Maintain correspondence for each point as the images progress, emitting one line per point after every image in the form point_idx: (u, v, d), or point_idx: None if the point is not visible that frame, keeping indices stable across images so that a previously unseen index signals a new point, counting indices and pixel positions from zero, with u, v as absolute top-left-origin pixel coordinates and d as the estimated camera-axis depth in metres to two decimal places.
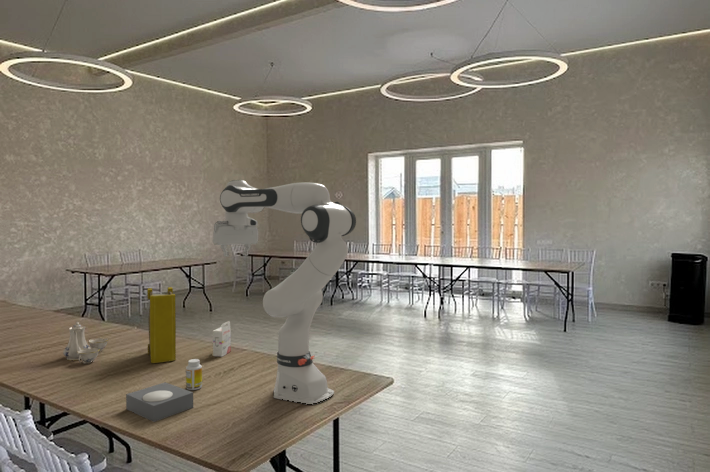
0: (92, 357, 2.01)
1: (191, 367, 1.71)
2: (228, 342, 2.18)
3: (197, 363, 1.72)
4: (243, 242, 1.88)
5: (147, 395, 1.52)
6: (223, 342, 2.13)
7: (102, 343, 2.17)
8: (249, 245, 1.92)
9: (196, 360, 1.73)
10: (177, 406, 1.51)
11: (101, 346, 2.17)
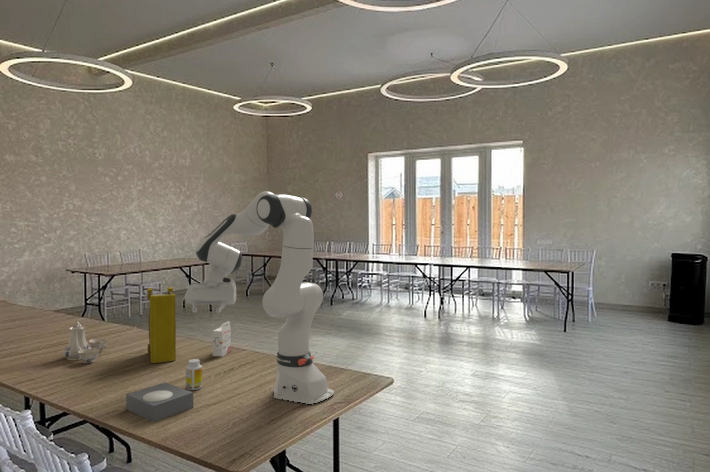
0: (93, 357, 2.01)
1: (191, 367, 1.71)
2: (228, 342, 2.18)
3: (197, 363, 1.72)
4: (213, 298, 1.87)
5: (147, 395, 1.52)
6: (223, 342, 2.13)
7: (102, 343, 2.17)
8: (222, 302, 1.87)
9: (196, 360, 1.73)
10: (177, 406, 1.51)
11: (101, 346, 2.17)
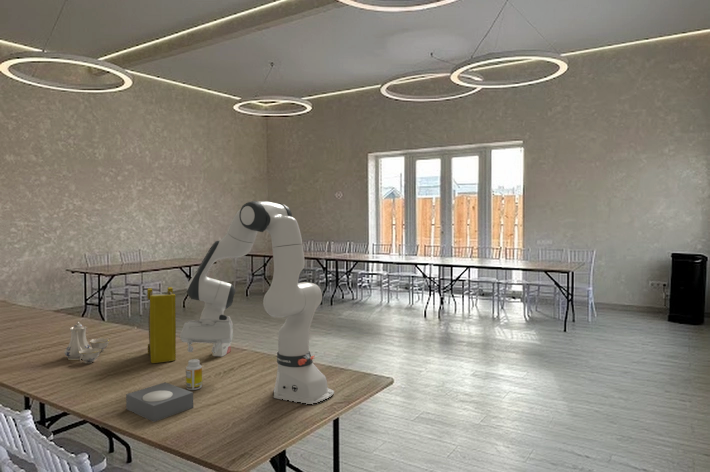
0: (93, 357, 2.01)
1: (191, 367, 1.71)
2: None
3: (197, 363, 1.72)
4: (209, 336, 1.83)
5: (147, 395, 1.52)
6: None
7: (103, 343, 2.17)
8: (218, 341, 1.82)
9: (196, 360, 1.73)
10: (177, 406, 1.51)
11: (102, 346, 2.17)
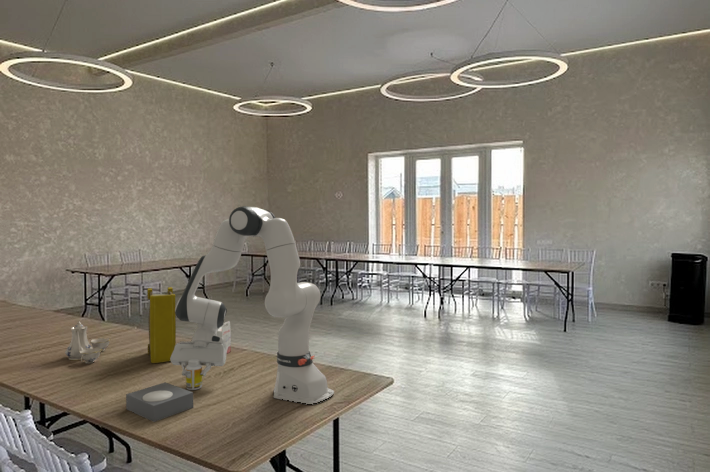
0: (94, 357, 2.01)
1: (191, 367, 1.71)
2: (228, 342, 2.18)
3: (197, 363, 1.72)
4: (201, 359, 1.75)
5: (147, 395, 1.52)
6: None
7: (104, 343, 2.17)
8: (208, 363, 1.74)
9: (196, 360, 1.73)
10: (177, 406, 1.51)
11: (103, 346, 2.17)
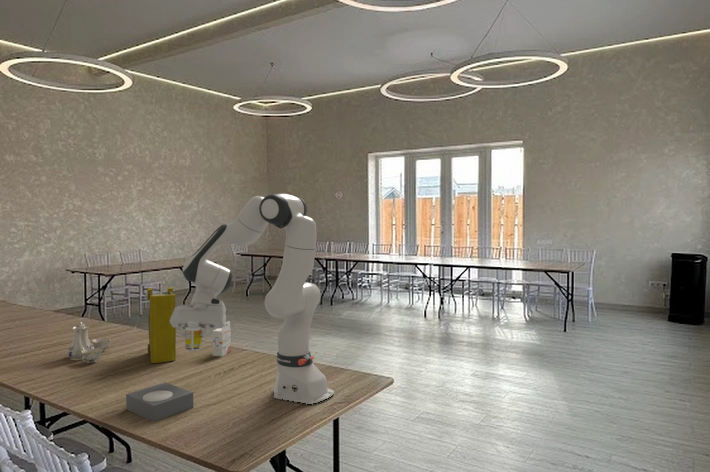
0: (96, 357, 2.01)
1: (190, 328, 1.70)
2: (228, 342, 2.18)
3: (197, 324, 1.71)
4: (201, 321, 1.74)
5: (147, 395, 1.52)
6: (223, 342, 2.13)
7: (105, 343, 2.17)
8: (207, 325, 1.74)
9: (196, 321, 1.72)
10: (177, 406, 1.51)
11: (104, 346, 2.17)
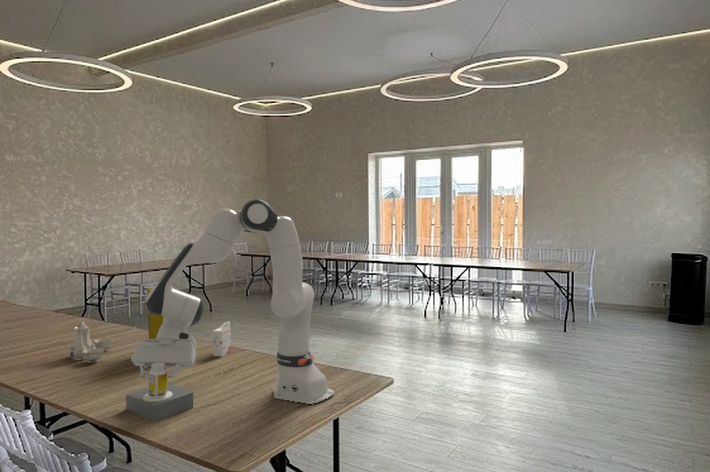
0: (97, 357, 2.01)
1: (154, 372, 1.49)
2: (228, 342, 2.18)
3: (162, 367, 1.50)
4: (166, 359, 1.53)
5: (147, 395, 1.52)
6: (223, 342, 2.13)
7: (107, 343, 2.17)
8: (177, 364, 1.53)
9: (161, 364, 1.52)
10: (177, 406, 1.51)
11: (106, 346, 2.18)
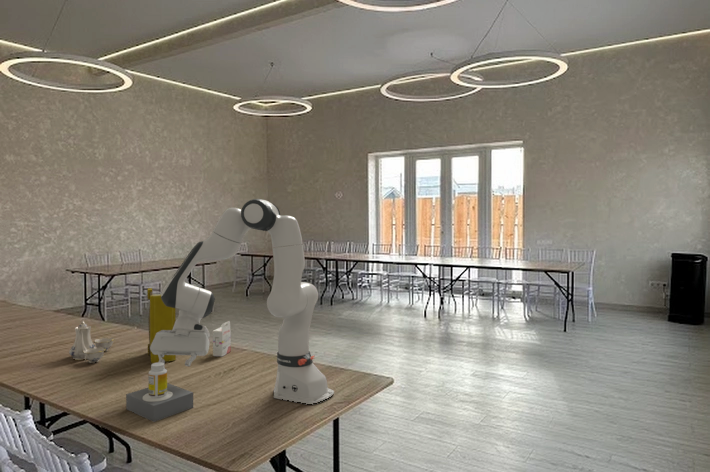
0: (98, 357, 2.01)
1: (154, 372, 1.49)
2: (228, 342, 2.18)
3: (161, 367, 1.51)
4: (183, 348, 1.66)
5: (147, 395, 1.52)
6: (223, 342, 2.13)
7: (108, 343, 2.18)
8: (193, 353, 1.66)
9: (160, 364, 1.52)
10: (177, 406, 1.51)
11: (107, 346, 2.18)
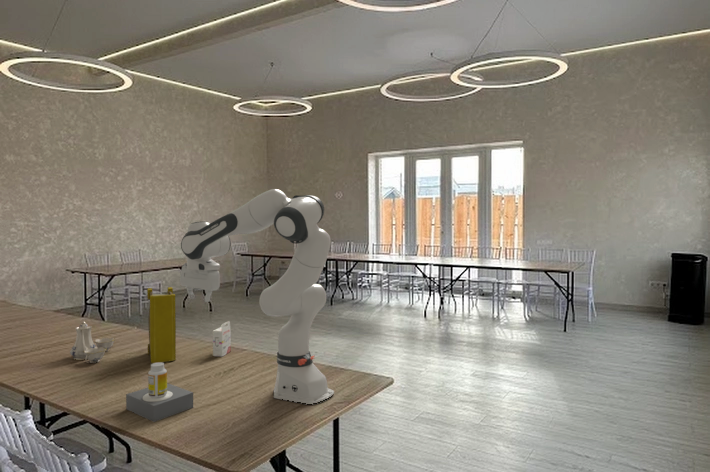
0: (99, 357, 2.01)
1: (154, 372, 1.49)
2: (228, 342, 2.18)
3: (161, 367, 1.51)
4: (198, 287, 1.77)
5: (147, 395, 1.52)
6: (223, 342, 2.13)
7: (108, 343, 2.18)
8: (206, 291, 1.76)
9: (160, 364, 1.52)
10: (177, 406, 1.51)
11: (107, 346, 2.18)
